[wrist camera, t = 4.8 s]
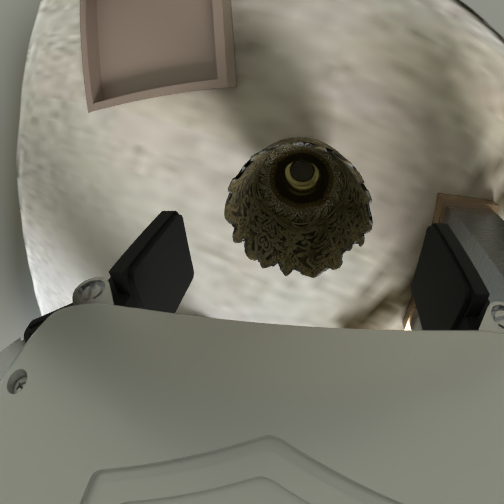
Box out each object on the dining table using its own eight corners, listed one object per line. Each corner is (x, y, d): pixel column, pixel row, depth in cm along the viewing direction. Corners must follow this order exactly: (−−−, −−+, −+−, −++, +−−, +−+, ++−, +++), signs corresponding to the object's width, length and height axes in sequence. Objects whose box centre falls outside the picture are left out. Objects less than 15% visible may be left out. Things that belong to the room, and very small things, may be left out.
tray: (106, 107, 21) (88, 112, 18) (98, -7, 15) (80, -11, 12) (236, 86, 18) (227, 87, 16) (227, -46, 13) (218, -58, 10)
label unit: (402, 323, 27) (423, 438, 16) (438, 193, 20) (523, 304, 9) (451, 322, 26) (483, 427, 15) (494, 201, 19) (581, 299, 8)
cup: (304, 233, 24) (300, 300, 17) (232, 174, 22) (197, 221, 16) (372, 170, 20) (401, 218, 13) (297, 100, 18) (292, 110, 12)
